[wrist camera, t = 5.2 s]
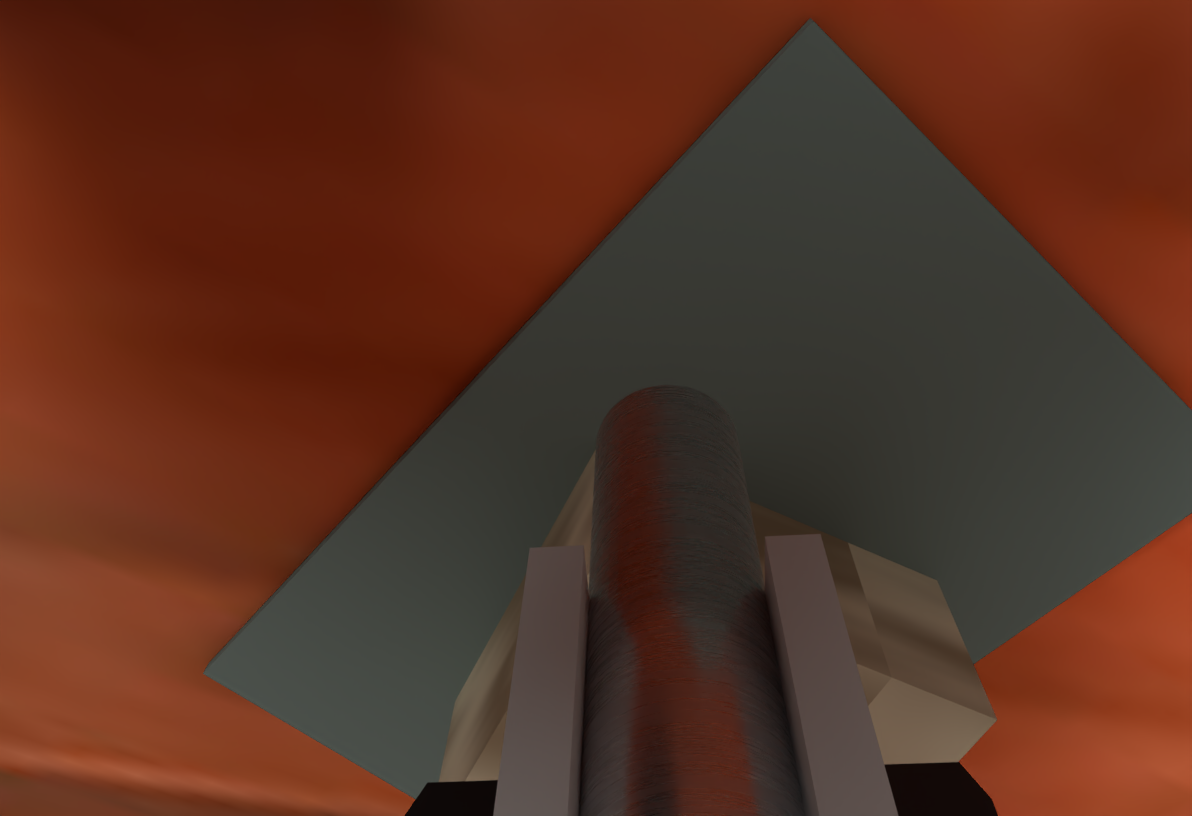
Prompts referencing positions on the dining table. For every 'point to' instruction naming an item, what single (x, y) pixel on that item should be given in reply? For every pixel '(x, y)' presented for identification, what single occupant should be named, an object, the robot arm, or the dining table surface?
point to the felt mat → (752, 412)
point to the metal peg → (679, 624)
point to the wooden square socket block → (874, 624)
